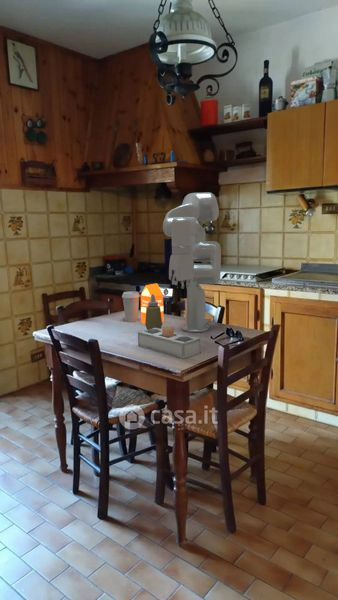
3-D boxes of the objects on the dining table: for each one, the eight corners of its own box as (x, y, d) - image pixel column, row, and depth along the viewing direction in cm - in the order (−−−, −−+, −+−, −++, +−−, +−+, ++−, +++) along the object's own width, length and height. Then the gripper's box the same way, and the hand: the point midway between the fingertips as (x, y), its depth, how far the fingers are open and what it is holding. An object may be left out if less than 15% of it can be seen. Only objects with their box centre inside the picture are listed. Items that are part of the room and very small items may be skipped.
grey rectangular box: (155, 340, 186) (155, 327, 185) (200, 353, 168) (200, 338, 167) (138, 345, 179) (137, 332, 178) (183, 359, 161) (182, 343, 160)
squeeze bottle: (149, 334, 196) (148, 296, 193) (142, 331, 203) (141, 294, 200) (165, 332, 200) (164, 294, 196) (157, 328, 207) (156, 292, 204)
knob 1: (153, 339, 183) (153, 328, 182) (161, 341, 180) (161, 330, 179) (145, 342, 180) (145, 330, 179) (153, 344, 176) (152, 332, 175)
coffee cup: (140, 322, 221) (139, 294, 218) (121, 322, 221) (120, 294, 218) (141, 318, 230) (140, 290, 227) (123, 318, 230) (122, 291, 227)
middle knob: (168, 337, 176) (168, 325, 175) (176, 339, 173) (176, 327, 172) (159, 340, 173) (159, 328, 172) (168, 342, 170) (167, 330, 169)
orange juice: (141, 323, 219) (139, 284, 215) (153, 320, 225) (152, 282, 222) (152, 325, 214) (151, 286, 210) (164, 322, 220) (163, 283, 217)
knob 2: (184, 347, 170) (184, 335, 169) (193, 350, 167) (192, 337, 166) (175, 350, 167) (175, 338, 166) (184, 353, 164) (184, 340, 163)
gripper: (187, 248, 170) (188, 293, 174) (160, 252, 160) (162, 300, 164) (202, 249, 165) (202, 296, 169) (175, 253, 155) (176, 302, 158)
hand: (182, 297), depth 166 cm, fingers closed
